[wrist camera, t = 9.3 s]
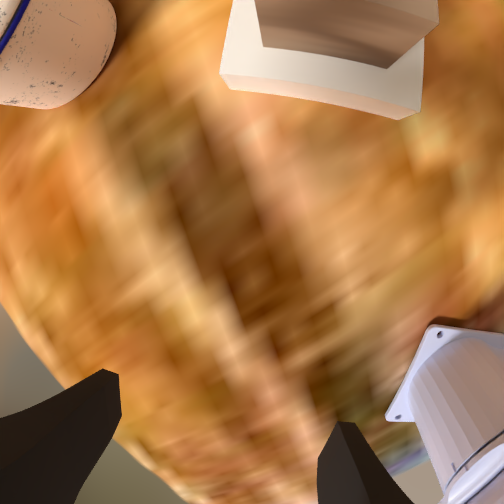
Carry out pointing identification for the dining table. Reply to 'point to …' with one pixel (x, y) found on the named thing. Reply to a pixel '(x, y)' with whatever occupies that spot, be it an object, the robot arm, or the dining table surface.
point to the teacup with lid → (52, 49)
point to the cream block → (318, 72)
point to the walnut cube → (347, 27)
